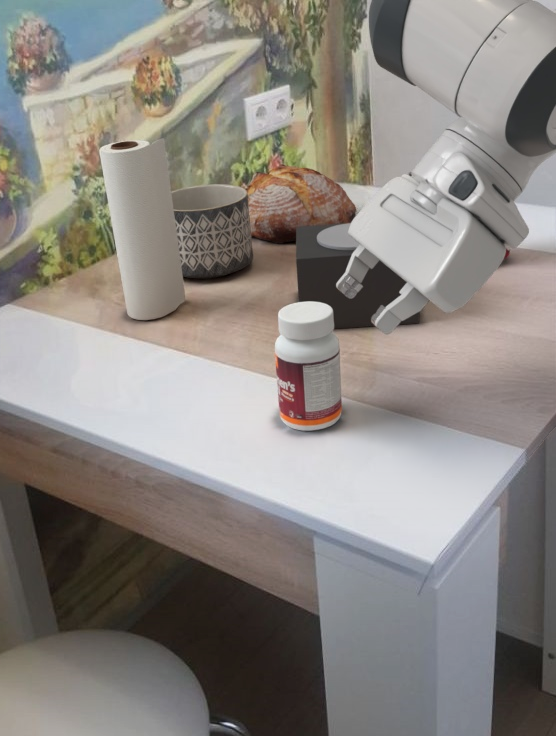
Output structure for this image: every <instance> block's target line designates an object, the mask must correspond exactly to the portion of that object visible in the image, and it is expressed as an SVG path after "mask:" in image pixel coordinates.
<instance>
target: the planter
mask: <svg viewBox="0 0 556 736" xmlns="http://www.w3.org/2000/svg"><path fill="white" fill-rule="evenodd" d="M171 194H172V202H173V209H174V216H175V224H176V231H177V239H178V246H179V253H180V261H181V268H182V276H183V278H188V279H189V278H191V279H199V280H200V279H201V280H202V279H204V280H205V279H207V280H208V279H217V278H220V277H223V276H227V275H230V274H232V273H236V272H239V271H241V270H243V269H245V268H246V267H248V266H249V265H250V264H251V263H252V261H253V259H254V250H253V240H252V236H251V227H250V216H249V204H248V193H247V191H246V190H245V188H244V187H242V186H239V185H234V184H225V183H213V184H200V185H199V184H198V185H193V186H185V187H182V188H178V189H174V190H171Z"/></svg>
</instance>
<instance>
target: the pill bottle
mask: <svg viewBox="0 0 556 736" xmlns="http://www.w3.org/2000/svg"><path fill="white" fill-rule="evenodd" d="M277 321H278V322H277V323H278V332H279V335H278V336H277V338H276V340H275V341H274V342H275V343H274V358H275V373H276V385H277V386H276V387H277V399H278V411H279V418H280V420H281V421H282V422H283V424H284V425H286V426H287V427H289V428H290V429H294V430H299V431H318V430H323V429H327V428H329V427H331V426H333V425H335V424H336V423H337V422H338V421H339V419H340V418H341V416H342V406H343V405H342V404H343V403H342V381H341V380H342V377H341V376H342V375H341V349H340V348H341V347H340V340H339V337H338V336H337V334H336V333H335V332H334V330H335V329H334V318H333V309H332V308H331V307H330V306H329V305H327V304H325V303H321V302H313V301H307V302H299V301H298V302H294V303H289V304H287V305H285V306H283V307H281V309H279V311H278V314H277Z"/></svg>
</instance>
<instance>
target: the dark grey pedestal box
mask: <svg viewBox="0 0 556 736" xmlns="http://www.w3.org/2000/svg"><path fill="white" fill-rule="evenodd" d="M350 224H351V223H340V224H327V225H314V226H301V227H296V241H295V265H296V280H297V295H298V296H297V297H298V298H297V299H298V302H307V301H313V302H321V303H325V304H327V305H329V306H330V307H331V308H332V309H333V318H334V329H333V330H337V329H353V328H369V327H376V326H375V325H374V324H373V323H372V322H371V317H372V316H373V314H375V313H376V312H377V310H378V309H379V307H380V306H381V305H383V306H384V307H385V308H386V306H387V305H389V304H390V303H391V302H393V301H394V300H395V299H397V298H398V297H399V296H400V295H401V294H400V293H399V292H400V290H401V289H402V288H403V287H404V285H405V284H406V283H407V282H406V281H405V280H404V279H402V278H401V277H400V276H399V275H397V274H396V273H395V272H394V271H392V270H391V269H390V268H389V267H387V266H386V265H385V264H384V263H383V262H381V261H380V260H379V261H378V263H377V264H376V265H375V266H374V267H373V269H371V268H369V269H368V271H367V273H366V275H365V277H364V279H363V280H362V282H361V283H360V284H361V285H362V286H363V287H362V289H361V290H360V291H359V292H358V293H357V294H356V296H355V297H354V298H352V299H349V298H348V297H347V296H345V295H344V294H343V293H342V292H340V291H339V290H338V289H337V287H336V284H337V282H338V281H339V279H340V278H341V277H342V276H343V274H344V273H345V272H346V268H347V266H348V263H349V261H350V258H351V255H352V253H353V252H354V251H355V249H356V248H357V247H358V246H359V245H360V244H359V243H358V242H356V241H355V240H354V239H353V238H352V237H351V236H350V235H349V234H348V230H349V227H350ZM419 323H420V311H419V312H418V313H416V314H414V315H412V316H410V317H409V318H407V319H405V320H403V321H401V322H400V323H399V324H398V325H397V326H399V325H400V326H401V325H413V324H414V325H415V324H419Z"/></svg>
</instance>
